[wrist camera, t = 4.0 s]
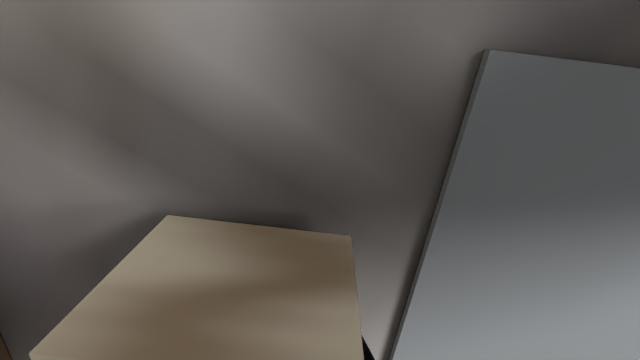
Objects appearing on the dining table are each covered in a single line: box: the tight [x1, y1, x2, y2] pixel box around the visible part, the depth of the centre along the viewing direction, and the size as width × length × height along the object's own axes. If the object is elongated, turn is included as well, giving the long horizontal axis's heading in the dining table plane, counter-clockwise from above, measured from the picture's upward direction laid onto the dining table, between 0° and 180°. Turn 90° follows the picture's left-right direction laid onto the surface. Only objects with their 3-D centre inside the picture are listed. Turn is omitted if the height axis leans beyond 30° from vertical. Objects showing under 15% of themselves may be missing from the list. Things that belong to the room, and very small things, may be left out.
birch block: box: [29, 215, 364, 360], centre depth 7 cm, size 5×5×4 cm
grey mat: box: [389, 50, 640, 360], centre depth 10 cm, size 9×15×1 cm, turn 173°
